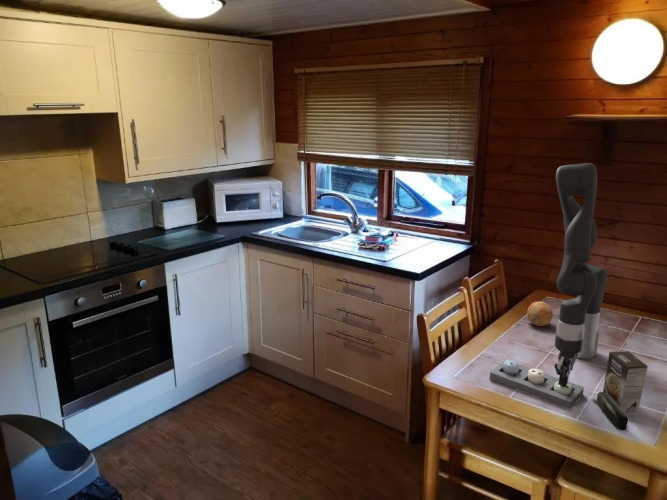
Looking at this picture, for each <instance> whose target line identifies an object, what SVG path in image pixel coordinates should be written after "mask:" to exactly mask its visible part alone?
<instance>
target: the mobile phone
mask: <svg viewBox="0 0 667 500" xmlns="http://www.w3.org/2000/svg"><path fill="white" fill-rule="evenodd" d="M592 401H593V402H594V403H595V405H597V407H598V408H599V409H600V410H601V412H602V413H603V414H604V416H605V417H606V418H607V420H608V421H609V422H610V423H611V425H612V426H613V427H614V428H615V429H617V430H619V431H627V427H628V423H629V417H628V415H627V414H624V412H623V411H622V410H621V409H620V408H619V407H618V405H617V404H616V403H615V402H614V400H613V399H612V397H611V396H610V395H608V394H606V393H605V392H603V391H599V392H598V393H597V394H596V399H595V398H593V399H592Z"/></svg>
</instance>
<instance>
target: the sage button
mask: <svg viewBox="0 0 667 500" xmlns="http://www.w3.org/2000/svg"><path fill="white" fill-rule="evenodd" d="M554 391H555V392H558V393H560V394H563V395H566V396H570V395H571V391H572V386H571V385H570V384H569V383H568V384H567V385H566V386H565V387H564V386H561V385H559V381H557V382H555V384H554Z"/></svg>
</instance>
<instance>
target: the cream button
mask: <svg viewBox="0 0 667 500" xmlns="http://www.w3.org/2000/svg"><path fill="white" fill-rule="evenodd" d="M545 374H546V373H545V371H544V370H542V369H539V368H530V370H528V378H527V380H528V382H530V383H533V384H536V385H539V386H542V385H543V383H544V378H545Z"/></svg>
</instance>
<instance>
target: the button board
mask: <svg viewBox="0 0 667 500" xmlns="http://www.w3.org/2000/svg"><path fill="white" fill-rule="evenodd" d="M506 360H507V359H504V360H503V361H502V362H501V363H499V364H498V365H497V366H495V367H494V369H492V370H491V371H490V372H489V373H490V374H489V380H491V381H495V382H497V383H500V384H502V385H504V386H506V387H510V388H513V389H516V390H517V391H520V392H523V393H525V394H528V395H531V396H534V397H537V398H539V399H542V400H544V401H546V402H549V403H552V404H555V405H557V406H559V407H562V408H566V409H567V410H571V409H572V408H573V406H575V404H577V402H578V401H579V400H580V399H581V397H582V396H583V395H584V390H585V386H581V385H579V384H575V383H572V382H569V381H568V383H569V384H570V385H571V386H572V391H571V395H570V396H566V395H563V394H560V393H558V392H555V391H554V384H555V382H557V381H559V377H556V376H553V375H550V374H547V373H545V378H544V383H543V384H542V385H536V384H533V383H530V382H528V380H527V378H528V370H530V369H531V368H530V367H526V366H524V365H521V364H519V372H518V375H515V376H511V375H508V374H506V373H503V362H504V361H506Z"/></svg>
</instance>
